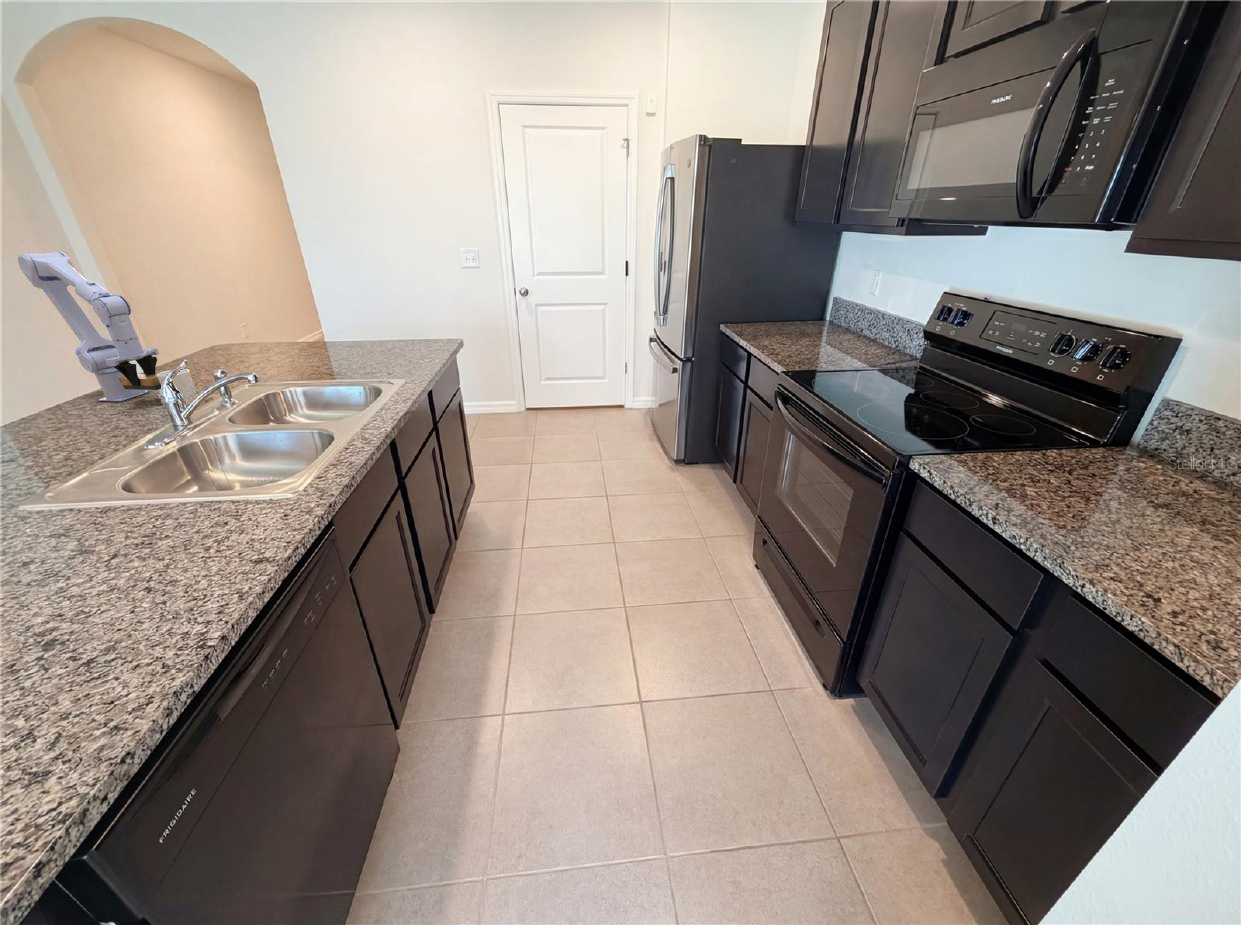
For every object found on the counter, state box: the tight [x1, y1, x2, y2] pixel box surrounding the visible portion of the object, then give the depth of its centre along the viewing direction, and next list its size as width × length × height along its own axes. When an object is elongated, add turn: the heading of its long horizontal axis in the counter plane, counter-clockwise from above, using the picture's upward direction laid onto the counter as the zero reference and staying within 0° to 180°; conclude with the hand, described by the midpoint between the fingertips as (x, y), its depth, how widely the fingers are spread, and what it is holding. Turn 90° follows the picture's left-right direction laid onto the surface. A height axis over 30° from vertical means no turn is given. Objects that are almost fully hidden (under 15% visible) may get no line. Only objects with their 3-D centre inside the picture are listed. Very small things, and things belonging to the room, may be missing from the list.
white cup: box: [155, 368, 198, 403], centre depth 155 cm, size 8×8×10 cm
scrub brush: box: [119, 373, 162, 391], centre depth 155 cm, size 11×4×4 cm, turn 85°
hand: (144, 383), depth 155 cm, fingers closed on scrub brush, 4 cm apart
